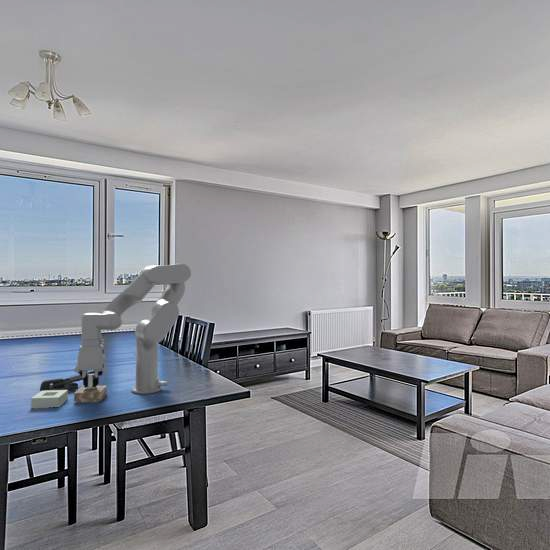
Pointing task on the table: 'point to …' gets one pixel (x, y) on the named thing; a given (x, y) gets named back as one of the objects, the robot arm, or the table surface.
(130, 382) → the table surface
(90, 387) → the metal pin
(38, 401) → the sage socket block
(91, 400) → the birch mount block
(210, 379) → the table surface
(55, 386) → the zipper pull
